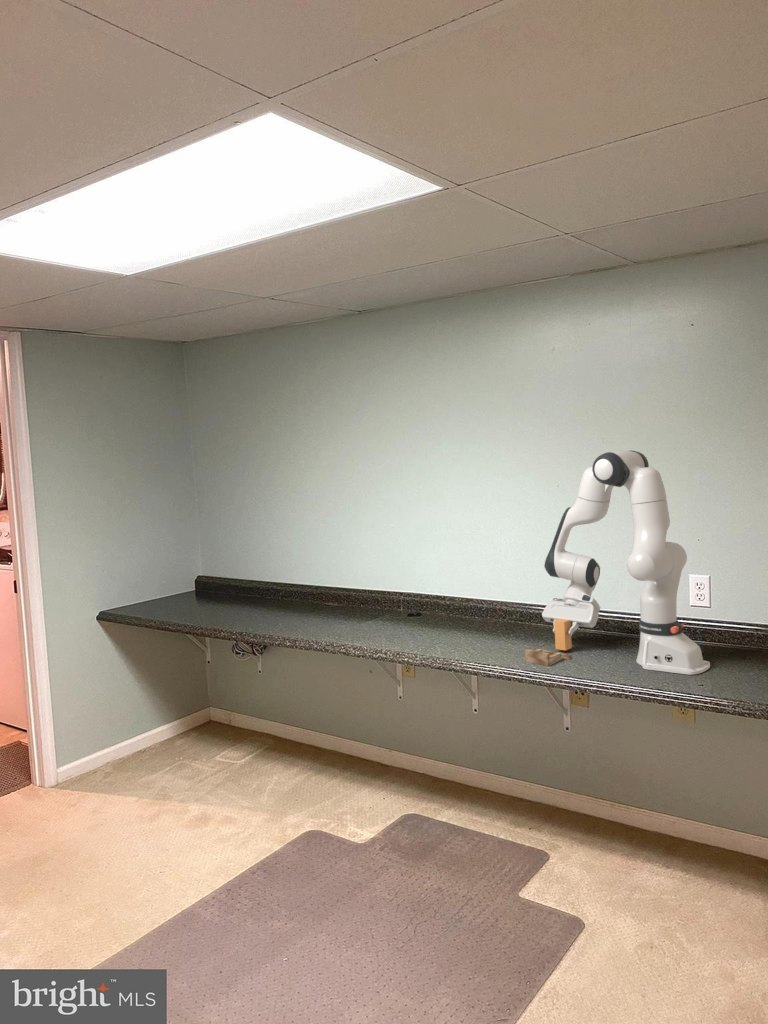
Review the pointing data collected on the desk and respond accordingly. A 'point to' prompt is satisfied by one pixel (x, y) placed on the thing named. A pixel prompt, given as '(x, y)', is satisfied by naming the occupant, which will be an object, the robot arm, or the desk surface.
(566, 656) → the door edge strip
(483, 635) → the desk surface
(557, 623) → the block
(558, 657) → the index bracket
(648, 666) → the robot arm
